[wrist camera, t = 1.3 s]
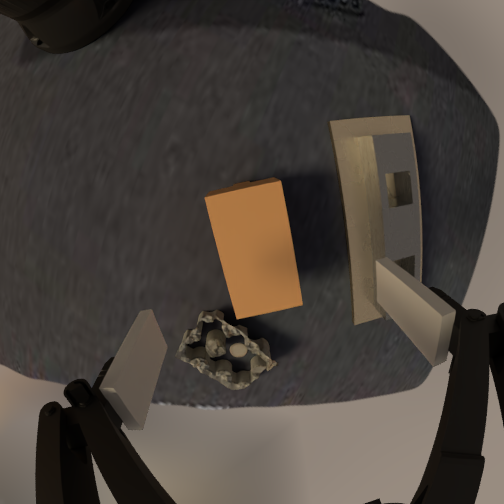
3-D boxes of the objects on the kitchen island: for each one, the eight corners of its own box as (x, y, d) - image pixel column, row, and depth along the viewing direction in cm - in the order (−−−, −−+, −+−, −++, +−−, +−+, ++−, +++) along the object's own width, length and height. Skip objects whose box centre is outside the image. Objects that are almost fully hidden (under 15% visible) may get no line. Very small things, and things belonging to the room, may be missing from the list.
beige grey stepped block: (327, 122, 27) (341, 117, 23) (405, 116, 27) (426, 112, 23) (352, 321, 35) (364, 340, 31) (417, 301, 34) (433, 316, 30)
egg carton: (278, 345, 35) (283, 365, 32) (240, 378, 37) (241, 399, 33) (211, 298, 33) (209, 316, 29) (175, 338, 34) (169, 358, 30)
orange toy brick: (211, 188, 29) (204, 197, 22) (270, 175, 29) (280, 180, 22) (236, 286, 32) (236, 319, 25) (289, 274, 32) (302, 304, 25)
